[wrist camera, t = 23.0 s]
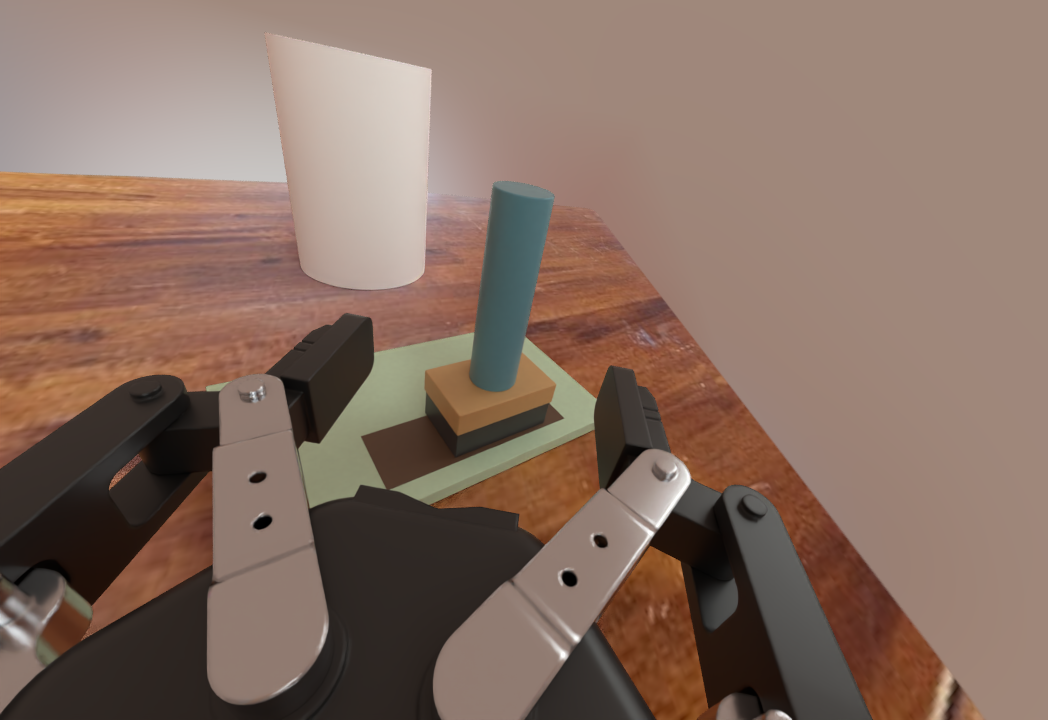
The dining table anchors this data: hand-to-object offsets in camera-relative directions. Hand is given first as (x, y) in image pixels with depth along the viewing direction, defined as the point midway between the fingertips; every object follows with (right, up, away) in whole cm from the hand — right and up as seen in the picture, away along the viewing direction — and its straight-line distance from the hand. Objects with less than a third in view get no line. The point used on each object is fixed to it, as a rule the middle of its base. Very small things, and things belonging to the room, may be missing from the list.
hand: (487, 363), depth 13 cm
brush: (-1, -4, +14) cm, 14 cm away
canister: (-18, +11, +33) cm, 39 cm away
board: (-6, -4, +15) cm, 16 cm away
